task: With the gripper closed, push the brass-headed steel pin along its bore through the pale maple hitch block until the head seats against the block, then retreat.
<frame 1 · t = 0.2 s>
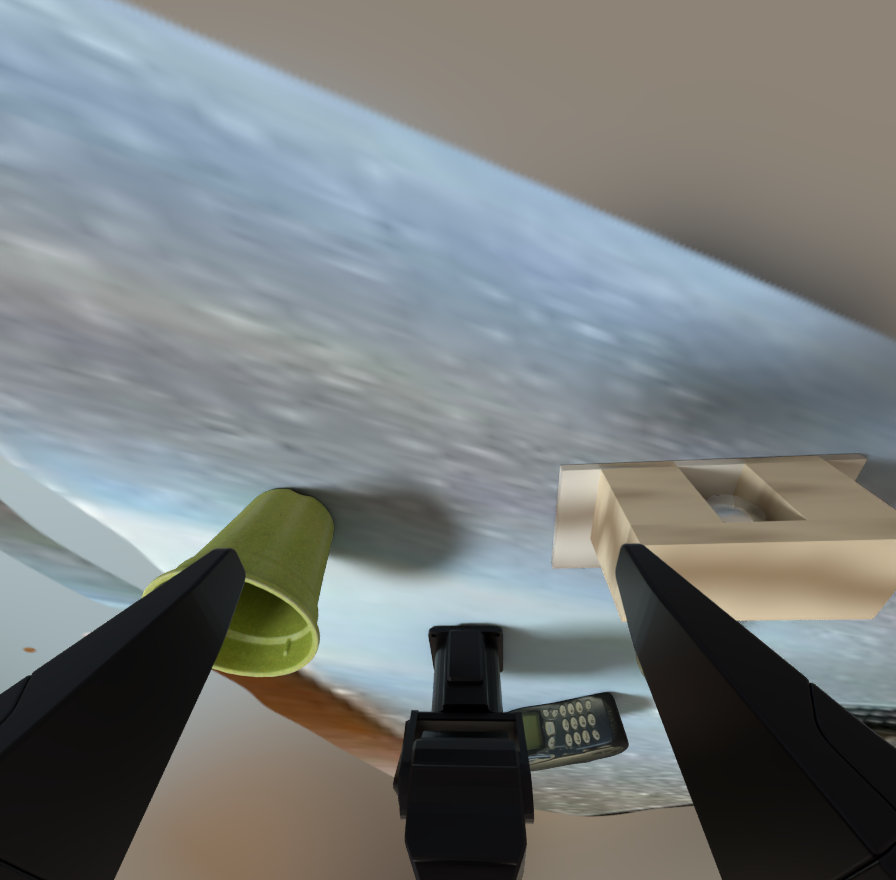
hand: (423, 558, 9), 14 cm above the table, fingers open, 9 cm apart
mobile phone: (542, 706, 41), on the table
plant pot: (293, 518, 28), on the table
hitch block: (693, 496, 26), on the table
lynch pin: (699, 599, 26), point 4 cm above the table, slide at 0.0 cm
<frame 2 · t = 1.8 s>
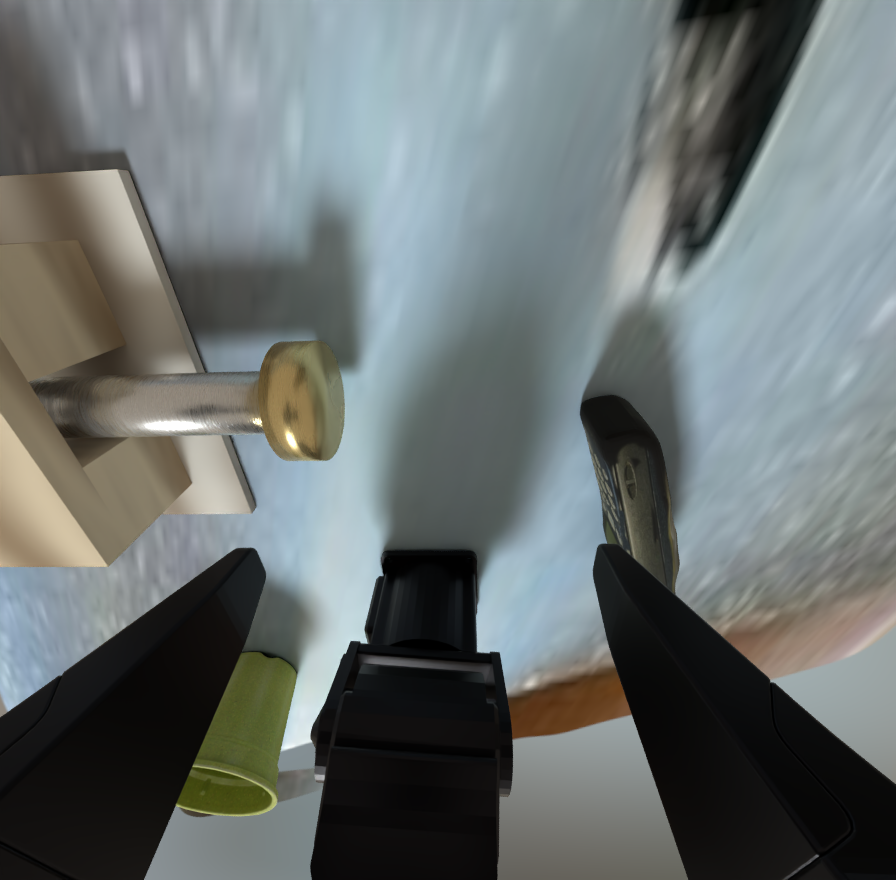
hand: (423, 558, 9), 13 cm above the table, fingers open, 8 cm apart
mobile phone: (618, 495, 24), on the table
plant pot: (265, 667, 35), on the table
hitch block: (99, 379, 21), on the table
lynch pin: (156, 405, 17), point 4 cm above the table, slide at 0.0 cm
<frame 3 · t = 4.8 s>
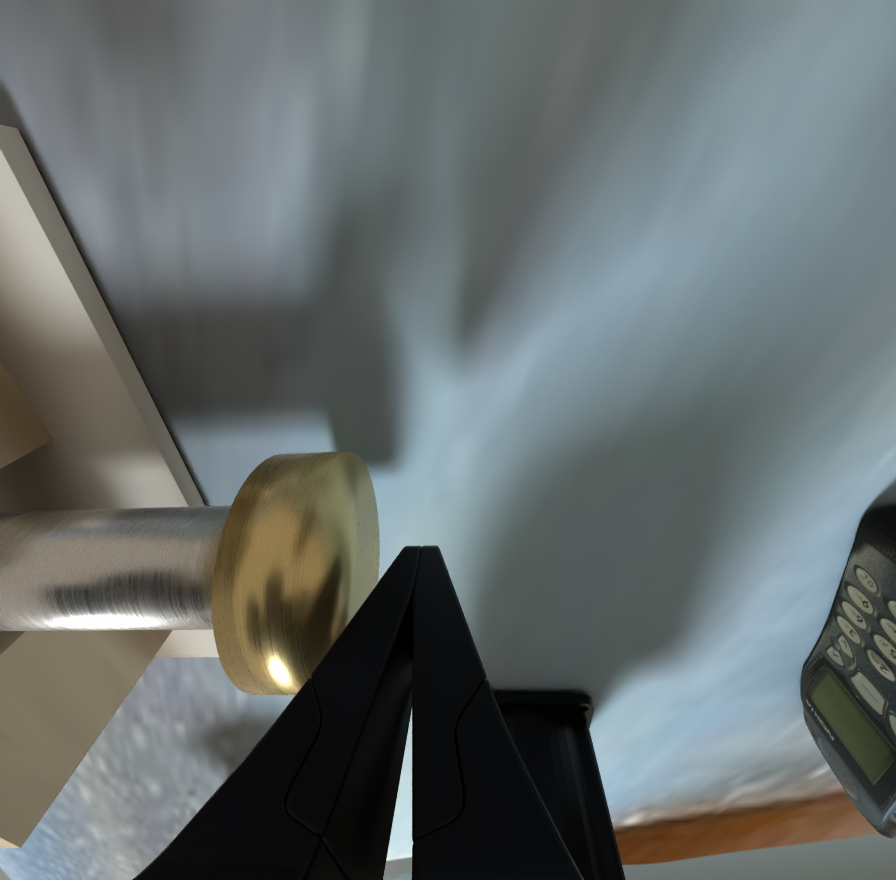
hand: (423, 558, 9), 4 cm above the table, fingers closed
mobile phone: (839, 630, 16), on the table
hitch block: (21, 485, 13), on the table
lynch pin: (43, 568, 10), point 4 cm above the table, slide at 1.4 cm, touching gripper
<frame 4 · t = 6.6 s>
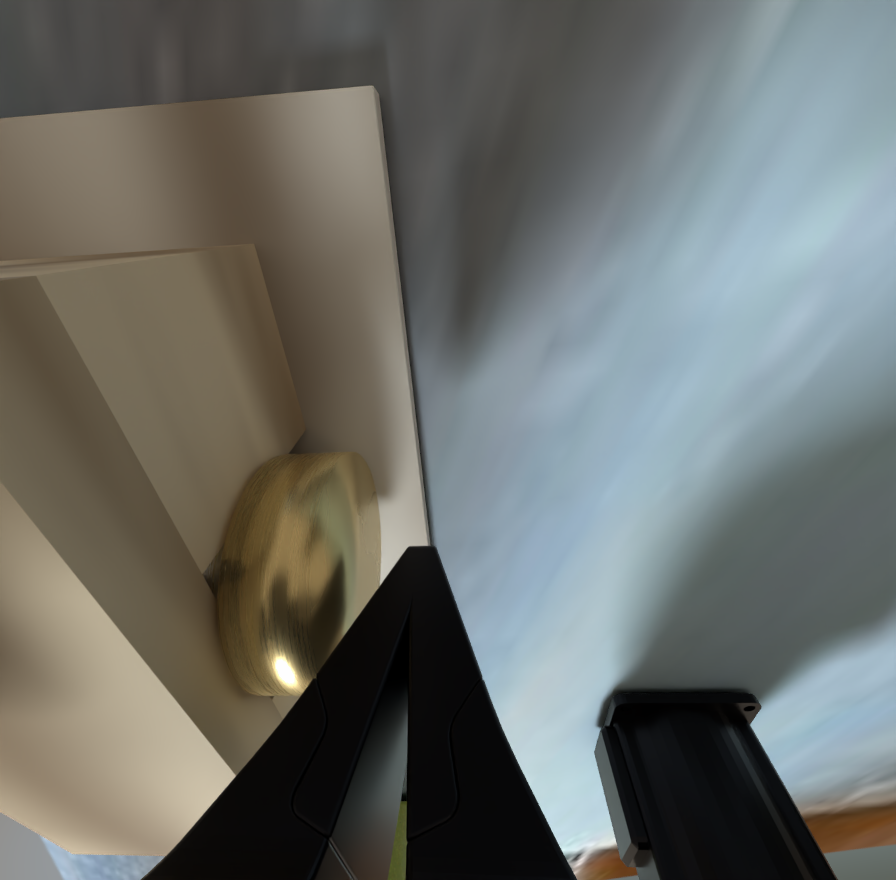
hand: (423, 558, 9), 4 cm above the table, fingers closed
plant pot: (388, 803, 27), on the table
hitch block: (236, 478, 12), on the table
lynch pin: (42, 569, 9), point 4 cm above the table, slide at 8.9 cm, touching gripper
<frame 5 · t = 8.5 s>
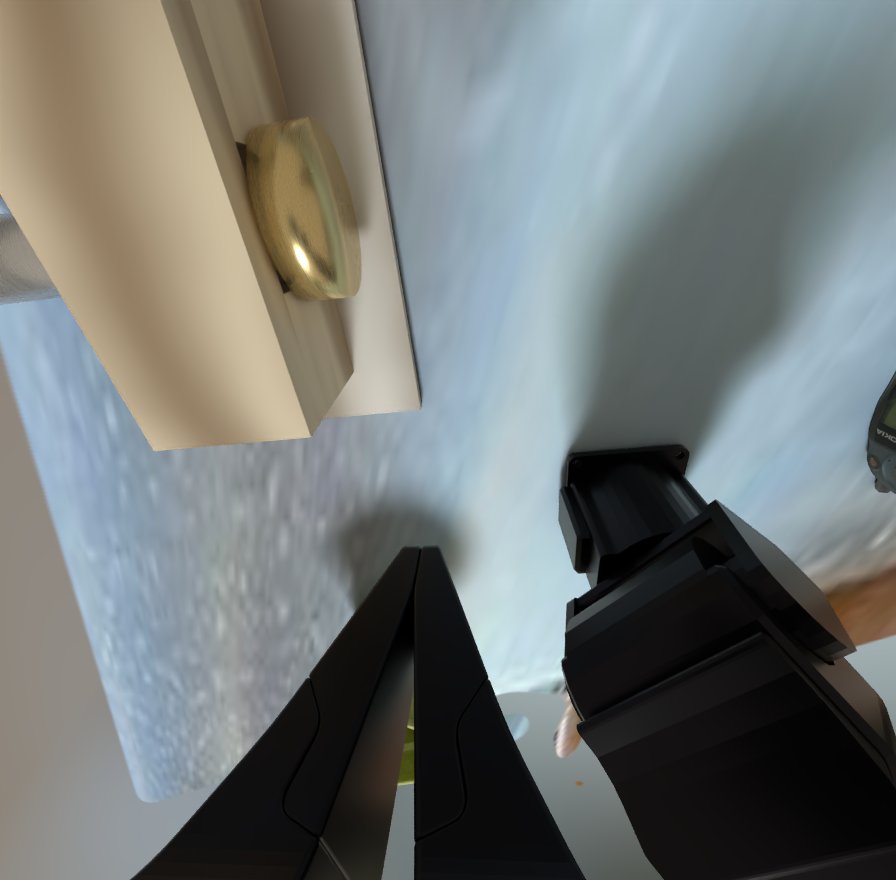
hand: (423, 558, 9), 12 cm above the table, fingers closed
plant pot: (396, 622, 31), on the table
hitch block: (252, 229, 17), on the table
lynch pin: (125, 244, 14), point 4 cm above the table, slide at 8.8 cm
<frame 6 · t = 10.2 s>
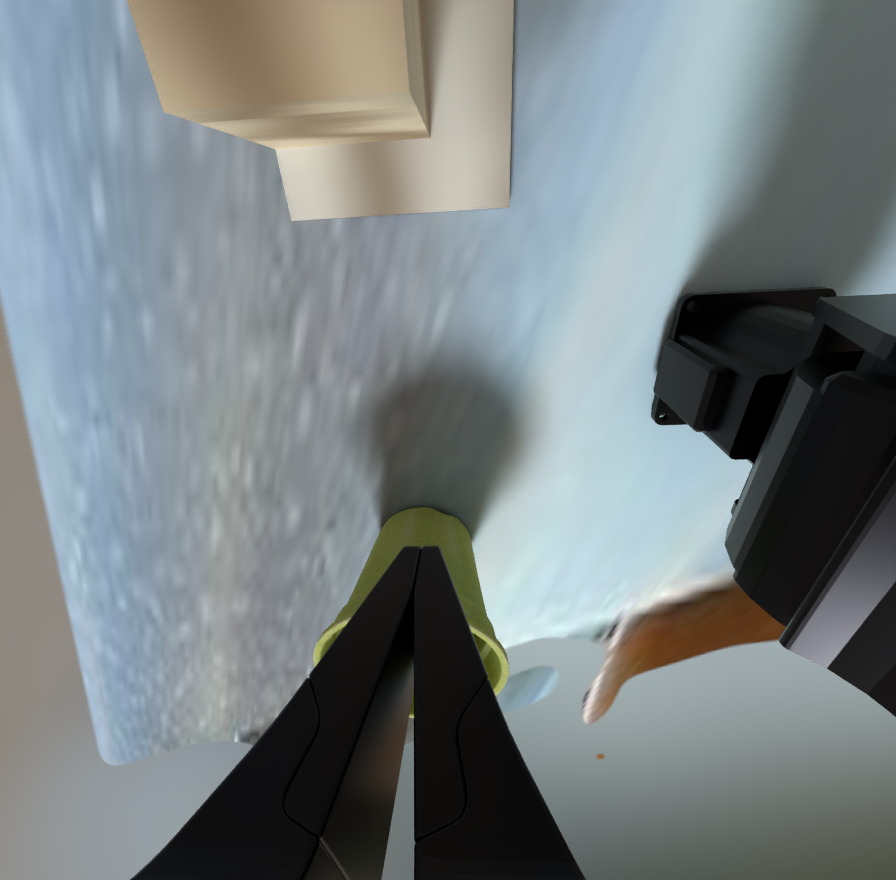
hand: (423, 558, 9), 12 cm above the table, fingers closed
plant pot: (426, 538, 26), on the table
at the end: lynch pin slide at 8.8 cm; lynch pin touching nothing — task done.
